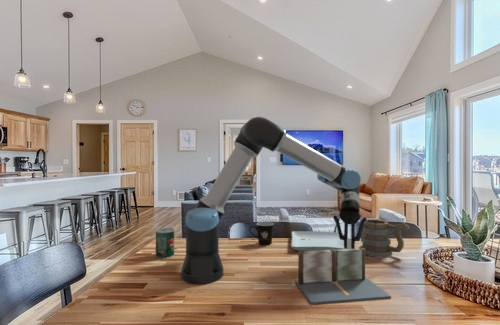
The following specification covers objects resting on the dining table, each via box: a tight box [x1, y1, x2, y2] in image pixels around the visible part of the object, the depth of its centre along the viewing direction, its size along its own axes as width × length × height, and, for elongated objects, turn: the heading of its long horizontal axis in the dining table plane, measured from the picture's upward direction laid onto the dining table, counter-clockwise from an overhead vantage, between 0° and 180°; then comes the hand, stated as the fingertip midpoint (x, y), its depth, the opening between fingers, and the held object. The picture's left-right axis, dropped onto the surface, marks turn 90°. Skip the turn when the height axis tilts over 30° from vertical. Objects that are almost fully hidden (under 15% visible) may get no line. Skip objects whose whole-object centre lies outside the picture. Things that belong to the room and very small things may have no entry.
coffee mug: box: [248, 221, 275, 246], centre depth 138 cm, size 12×9×10 cm
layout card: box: [294, 276, 392, 305], centre depth 88 cm, size 25×15×1 cm, turn 98°
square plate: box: [290, 230, 345, 252], centre depth 135 cm, size 27×27×4 cm
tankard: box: [358, 218, 411, 258], centre depth 121 cm, size 20×13×15 cm, turn 44°
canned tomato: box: [155, 227, 175, 259], centre depth 121 cm, size 8×8×11 cm
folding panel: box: [336, 247, 366, 281], centre depth 94 cm, size 10×2×10 cm, turn 98°
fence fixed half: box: [297, 249, 336, 284], centre depth 92 cm, size 13×2×10 cm, turn 98°
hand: (349, 256), depth 101 cm, fingers closed
